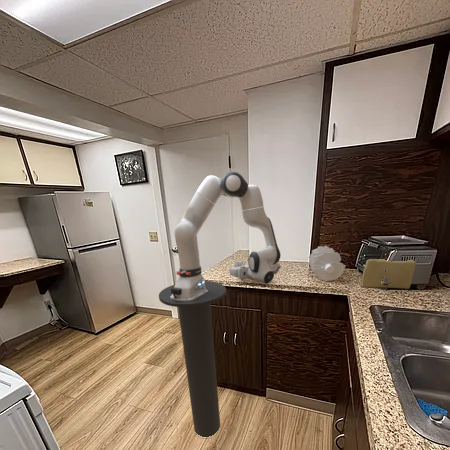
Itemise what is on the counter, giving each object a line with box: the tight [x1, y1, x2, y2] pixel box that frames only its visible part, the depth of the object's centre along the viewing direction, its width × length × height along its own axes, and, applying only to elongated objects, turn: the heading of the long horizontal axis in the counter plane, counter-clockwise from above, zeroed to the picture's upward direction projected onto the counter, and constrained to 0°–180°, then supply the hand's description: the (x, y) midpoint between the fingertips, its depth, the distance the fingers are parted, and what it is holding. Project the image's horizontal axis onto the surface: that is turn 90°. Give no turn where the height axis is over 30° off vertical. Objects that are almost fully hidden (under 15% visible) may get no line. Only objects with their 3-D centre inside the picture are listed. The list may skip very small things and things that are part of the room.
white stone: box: [234, 259, 244, 267], centre depth 154 cm, size 5×5×9 cm
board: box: [268, 263, 281, 274], centre depth 179 cm, size 20×20×2 cm
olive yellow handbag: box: [360, 258, 417, 290], centre depth 130 cm, size 22×10×15 cm, turn 81°
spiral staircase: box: [308, 245, 346, 282], centre depth 151 cm, size 18×18×25 cm
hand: (238, 266), depth 155 cm, fingers closed on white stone, 5 cm apart
